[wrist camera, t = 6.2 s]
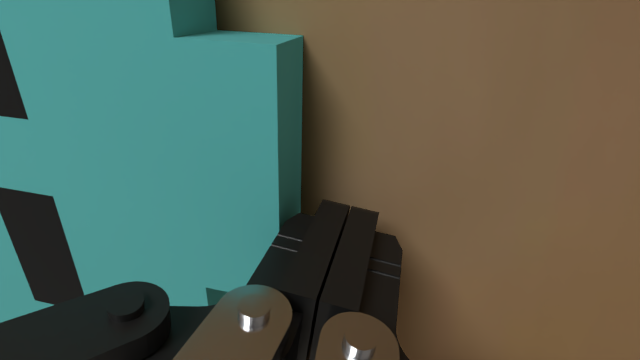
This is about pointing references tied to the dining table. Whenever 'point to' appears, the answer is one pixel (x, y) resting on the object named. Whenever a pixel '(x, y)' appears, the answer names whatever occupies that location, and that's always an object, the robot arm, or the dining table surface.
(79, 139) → the alien figure
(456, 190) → the dining table surface
